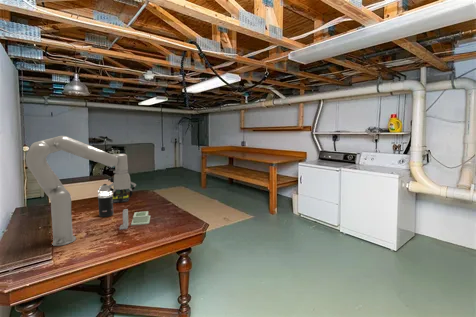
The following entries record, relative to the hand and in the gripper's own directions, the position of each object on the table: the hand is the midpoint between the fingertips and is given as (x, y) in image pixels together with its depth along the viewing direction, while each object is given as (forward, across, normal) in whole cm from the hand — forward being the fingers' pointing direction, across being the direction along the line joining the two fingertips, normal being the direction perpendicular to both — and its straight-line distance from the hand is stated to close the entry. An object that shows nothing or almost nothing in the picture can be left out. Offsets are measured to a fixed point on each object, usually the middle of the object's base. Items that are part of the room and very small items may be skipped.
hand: (123, 196), depth 168 cm
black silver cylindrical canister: (+21, -16, +29) cm, 39 cm away
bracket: (+21, 0, -2) cm, 21 cm away
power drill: (+21, -13, +68) cm, 72 cm away
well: (+21, +10, +9) cm, 25 cm away
